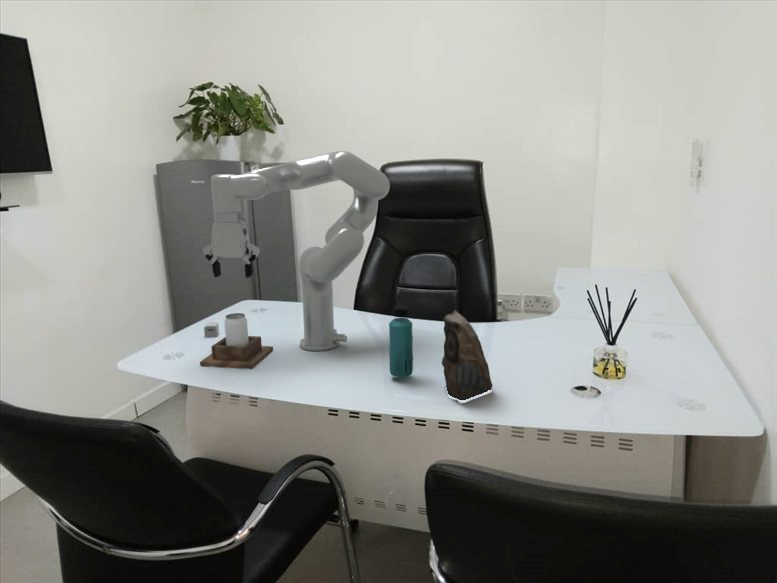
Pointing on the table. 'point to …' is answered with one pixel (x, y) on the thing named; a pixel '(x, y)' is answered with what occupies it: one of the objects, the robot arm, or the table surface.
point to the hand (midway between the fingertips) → (233, 276)
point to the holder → (237, 354)
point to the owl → (464, 359)
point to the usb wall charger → (211, 329)
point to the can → (236, 330)
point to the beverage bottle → (401, 343)
